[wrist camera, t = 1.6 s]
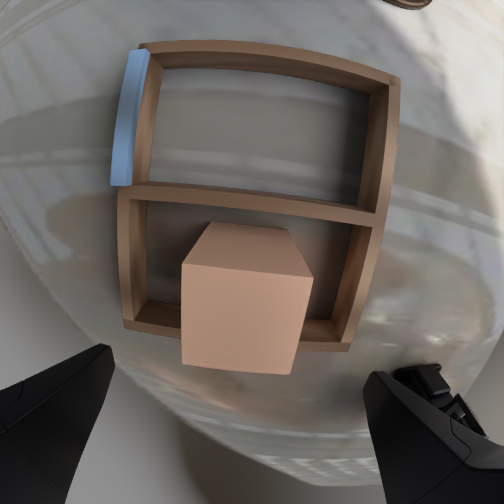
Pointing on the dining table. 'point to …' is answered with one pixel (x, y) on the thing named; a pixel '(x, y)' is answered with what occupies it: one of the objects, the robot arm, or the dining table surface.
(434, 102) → the dining table surface
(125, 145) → the frame
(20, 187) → the dining table surface
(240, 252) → the plug block
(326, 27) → the dining table surface
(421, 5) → the candlestick
